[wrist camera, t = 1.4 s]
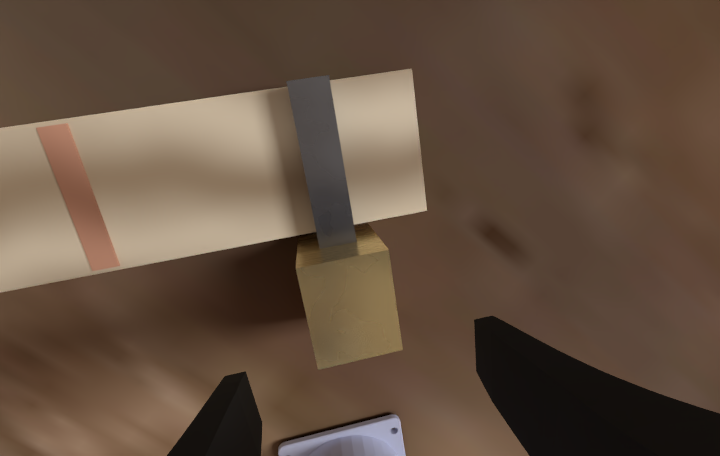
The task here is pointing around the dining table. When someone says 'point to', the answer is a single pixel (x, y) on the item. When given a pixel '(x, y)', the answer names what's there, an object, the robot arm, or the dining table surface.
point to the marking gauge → (338, 245)
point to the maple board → (193, 178)
